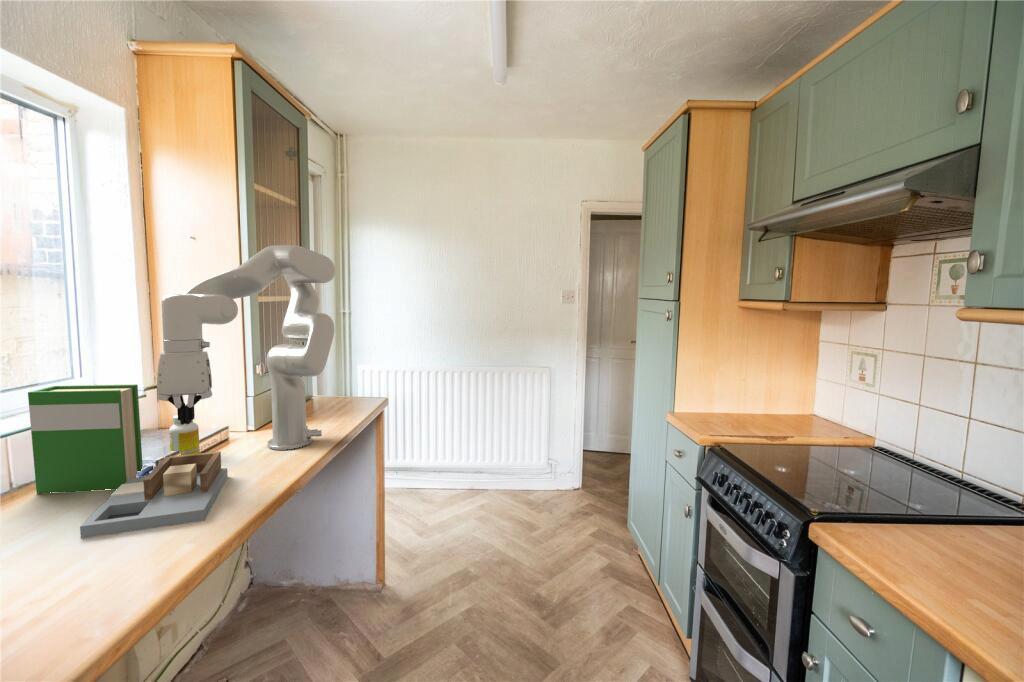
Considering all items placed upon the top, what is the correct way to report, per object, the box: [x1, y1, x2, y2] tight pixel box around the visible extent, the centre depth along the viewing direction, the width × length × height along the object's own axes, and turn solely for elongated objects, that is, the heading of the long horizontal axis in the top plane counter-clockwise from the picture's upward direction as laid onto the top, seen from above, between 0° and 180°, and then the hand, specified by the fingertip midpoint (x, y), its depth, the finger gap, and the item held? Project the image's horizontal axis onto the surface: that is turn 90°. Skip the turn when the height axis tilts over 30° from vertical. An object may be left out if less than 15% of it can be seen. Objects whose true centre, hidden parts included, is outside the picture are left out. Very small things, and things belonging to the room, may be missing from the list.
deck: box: [79, 467, 228, 539], centre depth 101 cm, size 20×24×3 cm
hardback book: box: [27, 384, 144, 495], centre depth 108 cm, size 18×7×24 cm, turn 101°
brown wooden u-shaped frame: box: [143, 451, 222, 500], centre depth 105 cm, size 11×15×4 cm
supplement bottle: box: [168, 414, 201, 455], centre depth 125 cm, size 7×7×13 cm
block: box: [163, 464, 197, 496], centre depth 102 cm, size 5×5×5 cm
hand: (186, 422), depth 107 cm, fingers closed
